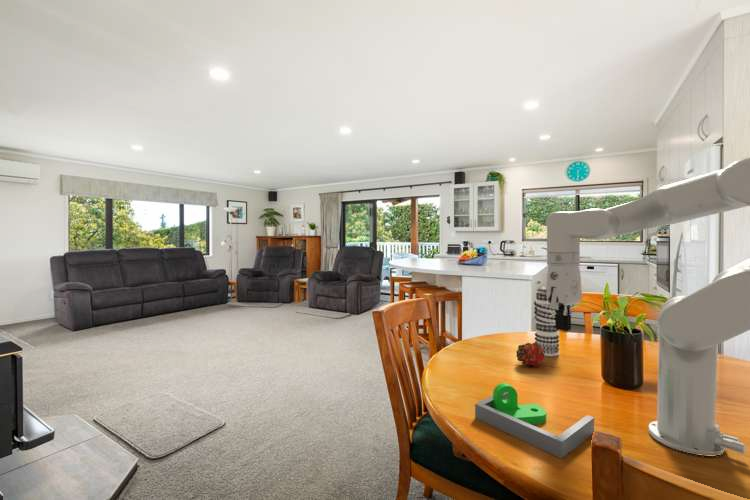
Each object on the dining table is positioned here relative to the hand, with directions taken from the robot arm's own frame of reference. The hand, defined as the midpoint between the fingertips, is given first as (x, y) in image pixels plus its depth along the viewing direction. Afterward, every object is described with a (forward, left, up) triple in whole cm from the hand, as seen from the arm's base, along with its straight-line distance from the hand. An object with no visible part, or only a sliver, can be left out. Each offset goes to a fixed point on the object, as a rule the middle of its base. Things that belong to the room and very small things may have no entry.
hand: (563, 329), depth 93 cm
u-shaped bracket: (0, +14, -21) cm, 25 cm away
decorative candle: (+24, -40, -21) cm, 51 cm away
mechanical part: (+4, +14, -21) cm, 25 cm away
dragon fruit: (+21, -23, -21) cm, 38 cm away
